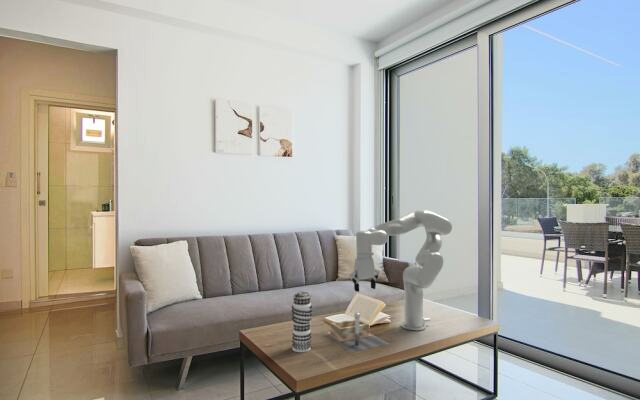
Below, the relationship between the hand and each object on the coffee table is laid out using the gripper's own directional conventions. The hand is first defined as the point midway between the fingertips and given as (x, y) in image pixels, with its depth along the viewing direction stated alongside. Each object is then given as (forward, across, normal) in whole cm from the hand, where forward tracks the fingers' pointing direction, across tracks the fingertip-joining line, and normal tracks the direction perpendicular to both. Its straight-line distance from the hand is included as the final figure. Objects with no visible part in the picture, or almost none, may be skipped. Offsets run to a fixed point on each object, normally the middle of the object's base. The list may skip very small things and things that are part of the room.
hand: (365, 289), depth 195 cm
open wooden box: (+20, +10, +1) cm, 22 cm away
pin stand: (+21, +10, +7) cm, 25 cm away
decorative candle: (+20, +37, +4) cm, 43 cm away
